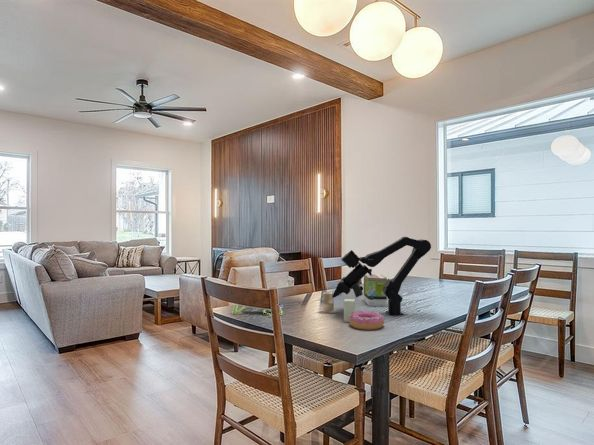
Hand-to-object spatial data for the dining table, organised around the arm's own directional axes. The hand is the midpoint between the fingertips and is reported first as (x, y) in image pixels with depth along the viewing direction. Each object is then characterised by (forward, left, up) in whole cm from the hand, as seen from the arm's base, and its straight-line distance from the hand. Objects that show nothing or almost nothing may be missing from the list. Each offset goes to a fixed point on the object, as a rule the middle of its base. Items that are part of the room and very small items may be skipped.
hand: (333, 296), depth 181 cm
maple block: (+1, +2, -7) cm, 7 cm away
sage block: (-16, -4, -7) cm, 18 cm away
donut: (-25, -9, -8) cm, 28 cm away
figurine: (+5, +36, -8) cm, 37 cm away
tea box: (+18, -26, -8) cm, 32 cm away
